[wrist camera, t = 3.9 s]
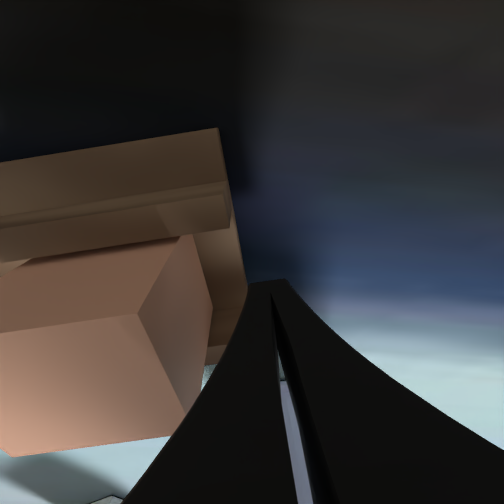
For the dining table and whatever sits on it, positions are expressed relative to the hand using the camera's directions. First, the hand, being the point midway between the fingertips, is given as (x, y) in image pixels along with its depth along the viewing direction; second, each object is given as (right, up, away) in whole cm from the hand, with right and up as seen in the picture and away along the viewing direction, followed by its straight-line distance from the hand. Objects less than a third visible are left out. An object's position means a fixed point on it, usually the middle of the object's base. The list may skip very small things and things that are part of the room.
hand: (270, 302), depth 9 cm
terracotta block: (-6, +1, +3) cm, 7 cm away
